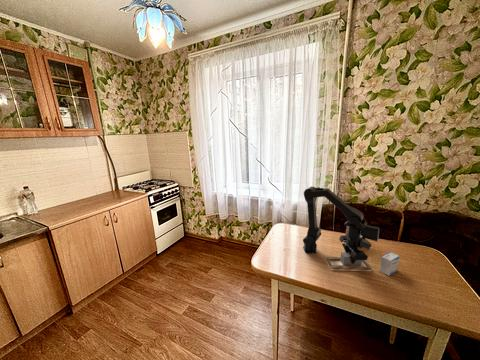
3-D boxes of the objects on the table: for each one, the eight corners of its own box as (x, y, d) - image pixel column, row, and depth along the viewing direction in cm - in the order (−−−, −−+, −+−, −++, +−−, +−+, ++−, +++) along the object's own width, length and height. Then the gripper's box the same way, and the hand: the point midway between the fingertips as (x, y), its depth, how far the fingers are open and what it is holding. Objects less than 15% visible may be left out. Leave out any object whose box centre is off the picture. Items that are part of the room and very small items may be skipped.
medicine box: (388, 276, 97) (391, 261, 95) (379, 271, 101) (381, 256, 99) (397, 270, 100) (400, 256, 98) (387, 265, 104) (390, 251, 102)
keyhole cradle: (331, 270, 103) (331, 267, 102) (325, 259, 111) (325, 256, 111) (371, 271, 101) (371, 268, 100) (362, 260, 110) (362, 257, 109)
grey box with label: (343, 265, 104) (344, 256, 103) (340, 260, 108) (341, 251, 107) (361, 265, 104) (362, 256, 102) (357, 260, 107) (358, 252, 106)
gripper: (381, 245, 92) (376, 273, 96) (360, 226, 110) (357, 250, 114) (356, 244, 93) (353, 272, 97) (340, 226, 111) (337, 250, 115)
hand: (350, 260), depth 105 cm, fingers closed on grey box with label, 4 cm apart
